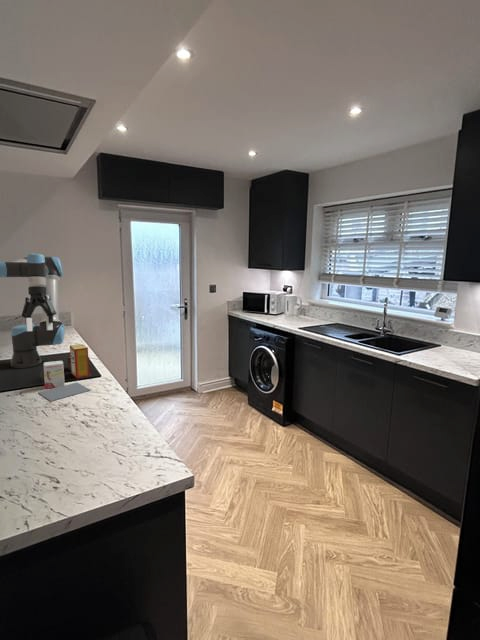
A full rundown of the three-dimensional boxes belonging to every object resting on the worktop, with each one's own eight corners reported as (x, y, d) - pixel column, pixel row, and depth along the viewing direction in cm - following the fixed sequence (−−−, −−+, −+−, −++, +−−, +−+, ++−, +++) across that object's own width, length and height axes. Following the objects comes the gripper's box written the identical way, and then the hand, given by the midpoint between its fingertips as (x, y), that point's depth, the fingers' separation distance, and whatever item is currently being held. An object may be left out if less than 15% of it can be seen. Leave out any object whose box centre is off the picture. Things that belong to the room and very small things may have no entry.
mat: (38, 393, 164) (38, 392, 163) (76, 383, 177) (76, 382, 177) (51, 401, 155) (50, 400, 155) (90, 390, 168) (90, 389, 168)
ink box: (45, 389, 169) (43, 365, 166) (44, 385, 173) (42, 362, 171) (65, 386, 173) (63, 363, 171) (64, 382, 177) (62, 360, 175)
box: (77, 371, 195) (76, 358, 194) (68, 370, 196) (67, 357, 195) (84, 367, 201) (83, 355, 200) (75, 366, 202) (74, 354, 201)
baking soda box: (89, 376, 188) (87, 346, 185) (76, 378, 184) (74, 348, 181) (84, 371, 195) (82, 343, 192) (71, 373, 191) (69, 344, 188)
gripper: (11, 288, 170) (13, 332, 170) (49, 283, 161) (51, 329, 161) (26, 289, 177) (28, 331, 177) (63, 284, 168) (65, 329, 168)
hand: (39, 330), depth 169 cm, fingers open, 13 cm apart
